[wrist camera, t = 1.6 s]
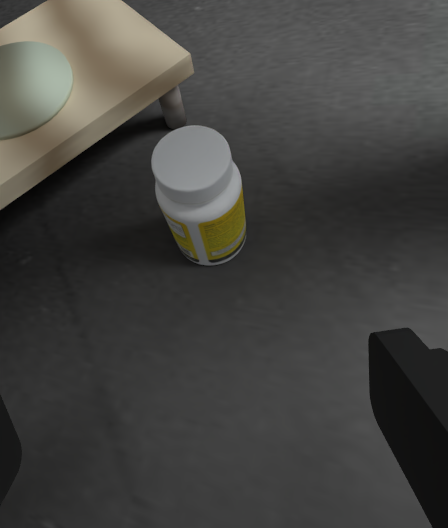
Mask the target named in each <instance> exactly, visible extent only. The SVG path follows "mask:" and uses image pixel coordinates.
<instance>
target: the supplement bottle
mask: <svg viewBox="0 0 448 528" xmlns="http://www.w3.org/2000/svg"><path fill="white" fill-rule="evenodd" d="M151 166H152V171H153V174H154V176H155V179H156V184H155V193H156V198H157V201H158V204H159V206H160V208H161V210H162V212H163V214H164V217H165V219H166V221H167V223H168V225H169V227H170V230H171V232H172V234H173V236H174V238H175V240H176V242H177V245H178V247H179V249H180V250H181V252H182V253H183V254H184V255H185V256H186V257H187V258H188V259H189V260H191V261H193V262H195V263H197V264H201V265H218V264H222V263H225V262H227V261H229V260H231V259H232V258H233V257H235V256H236V255H237V254H238V253H239V251H240V250H241V249H242V247H243V245H244V242H245V239H246V218H245V209H244V199H243V190H242V180H241V175H240V172H239V170H238V168H237V166H236V164H235V163H234V162H233V161H232V157H231V152H230V148H229V145H228V143H227V141H226V140H225V138H224V137H223V136H222V135H221V134H220V133H218V132H217V131H215V130H213V129H211V128H208V127H204V126H198V125H192V126H185V127H181V128H178V129H176V130H174V131H172V132H170V133H168V134H167V135H166V136H164V137H163V138H162V139H161V140H160V141H159V142H158V144H157V145H156V147H155V149H154V151H153V154H152V159H151Z"/></svg>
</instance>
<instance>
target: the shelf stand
mask: <svg viewBox="0 0 448 528" xmlns="http://www.w3.org/2000/svg"><path fill="white" fill-rule="evenodd" d="M192 74H194V70H193V65H192V60H191V54H190V53H189V52H187V51H186V50H185V49H184V48H182V47H181V46H180V45H178V44H177V43H176V42H174V41H173V40H172V39H171V38H169V37H168V36H167V35H165V34H164V33H163V32H162V31H160V30H159V29H158V28H156V27H155V26H154V25H153V24H151V23H150V22H149V21H147V20H146V19H145V18H143V17H142V16H141V15H140V14H138V13H137V12H136V11H134V10H133V9H132V8H131V7H129V6H128V5H127V4H125V3H124V2H123V1H122V0H48V1H46V2H44V3H43V4H41V5H39V6H38V7H36V8H34V9H33V10H31V11H29V12H28V13H26V14H24V15H23V16H21V17H19V18H18V19H16V20H14V21H13V22H11V23H9V24H8V25H6V26H4V27H3V28H1V29H0V210H1V209H2V208H4V207H5V206H7V205H8V204H9V203H11V202H12V201H14V200H15V199H17V198H18V197H19V196H21V195H22V194H24V193H25V192H26V191H28V190H29V189H31V188H32V187H34V186H35V185H36V184H38V183H39V182H41V181H42V180H43V179H45V178H46V177H48V176H49V175H51V174H52V173H53V172H55V171H56V170H58V169H59V168H60V167H62V166H63V165H65V164H66V163H68V162H69V161H70V160H72V159H73V158H75V157H76V156H77V155H79V154H80V153H82V152H83V151H85V150H86V149H87V148H89V147H90V146H92V145H93V144H94V143H96V142H97V141H99V140H100V139H102V138H103V137H104V136H106V135H107V134H109V133H110V132H111V131H113V130H114V129H116V128H117V127H119V126H120V125H121V124H123V123H124V122H126V121H127V120H128V119H130V118H131V117H133V116H134V115H135V114H137V113H138V112H140V111H141V110H143V109H144V108H145V107H147V106H148V105H150V104H151V103H152V102H154V101H155V100H157V99H158V98H159V101H160V105H161V108H162V111H163V114H164V118H165V121H166V124H167V126H168V127H169V128H171V129H178V128H181V127H183V126H184V125H185V124H186V116H185V111H184V107H183V103H182V99H181V95H180V91H179V87H178V84H179V83H181V82H182V81H184V80H185V79H186V78H188V77H189V76H191V75H192Z"/></svg>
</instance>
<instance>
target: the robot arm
mask: <svg viewBox="0 0 448 528" xmlns="http://www.w3.org/2000/svg"><path fill="white" fill-rule="evenodd" d="M368 345H369V387H370V400H371V405H372V409H373V413H374V416H375V419H376V421H377V423H378V425H379V427H380V429H381V431H382V433H383V435H384V437H385V439H386V441H387V442H388V444H389V446H390V448H391V450H392V452H393V454H394V456H395V457H396V459H397V461H398V463H399V465H400V467H401V469H402V471H403V473H404V474H405V476H406V478H407V480H408V482H409V484H410V486H411V488H412V489H413V491H414V493H415V495H416V497H417V499H418V501H419V503H420V505H421V506H422V508H423V510H424V512H425V514H426V516H427V518H428V520H429V522H430V523H431V525H432V527H433V528H448V352H447V351H445V350H444V349H442V348H438V349H431V350H430V349H429V348H428V347H427V346H426V345H425V344H424V343H423V342H422V341H421V340H420V338H419V337H418V336H417V335H416V334H415V333H414V332H413V331H412V330H411V329H409V328H401V329H394V330H387V331H380V332H373V333H371V334H370V336H369V344H368ZM21 456H22V450H21V443H20V440H19V438H18V435H17V433H16V431H15V428H14V426H13V423H12V421H11V419H10V416H9V414H8V412H7V409H6V407H5V405H4V402H3V400H2V397H1V395H0V505H1V503H2V501H3V499H4V497H5V495H6V494H7V492H8V490H9V488H10V486H11V484H12V482H13V480H14V479H15V477H16V475H17V473H18V470H19V467H20V464H21Z"/></svg>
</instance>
